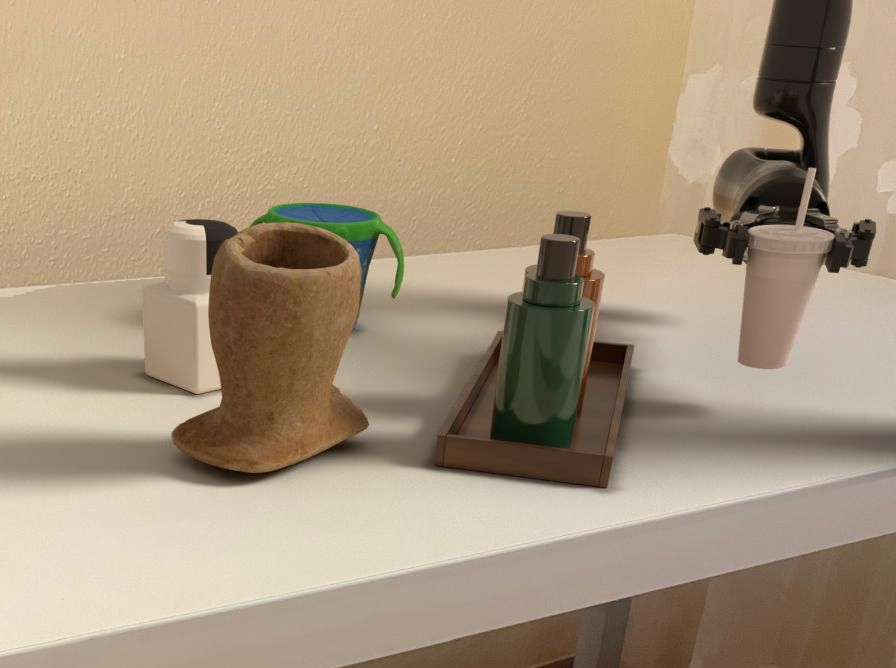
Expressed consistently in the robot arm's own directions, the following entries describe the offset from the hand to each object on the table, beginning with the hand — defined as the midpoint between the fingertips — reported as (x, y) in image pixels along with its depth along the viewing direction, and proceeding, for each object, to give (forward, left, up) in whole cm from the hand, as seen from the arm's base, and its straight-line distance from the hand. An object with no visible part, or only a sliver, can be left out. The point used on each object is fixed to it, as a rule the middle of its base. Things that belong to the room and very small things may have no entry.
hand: (788, 254), depth 90 cm
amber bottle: (+11, +13, -12) cm, 20 cm away
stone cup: (+16, +36, -13) cm, 41 cm away
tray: (+11, +13, -12) cm, 21 cm away
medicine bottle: (+34, +29, -13) cm, 47 cm away
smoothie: (+1, -2, -9) cm, 9 cm away
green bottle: (+6, +21, -12) cm, 25 cm away
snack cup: (+41, +9, -13) cm, 44 cm away
